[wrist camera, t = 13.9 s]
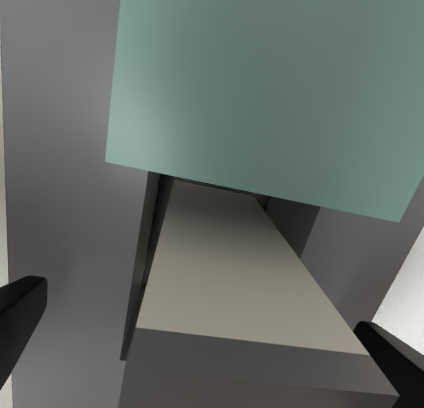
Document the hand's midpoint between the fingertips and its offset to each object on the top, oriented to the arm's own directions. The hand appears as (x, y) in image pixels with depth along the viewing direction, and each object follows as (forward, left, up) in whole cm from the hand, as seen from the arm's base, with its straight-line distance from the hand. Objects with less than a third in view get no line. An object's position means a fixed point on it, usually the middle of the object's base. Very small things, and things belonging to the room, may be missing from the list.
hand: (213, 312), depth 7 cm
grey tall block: (0, 0, -5) cm, 5 cm away
